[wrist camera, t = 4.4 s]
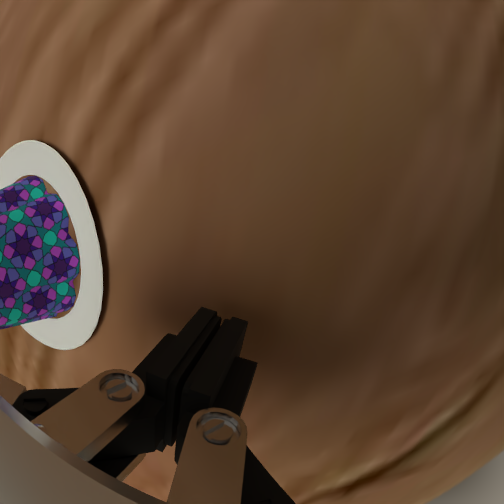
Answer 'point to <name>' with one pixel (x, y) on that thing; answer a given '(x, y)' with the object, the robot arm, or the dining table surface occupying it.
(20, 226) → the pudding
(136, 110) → the dining table surface
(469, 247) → the dining table surface
